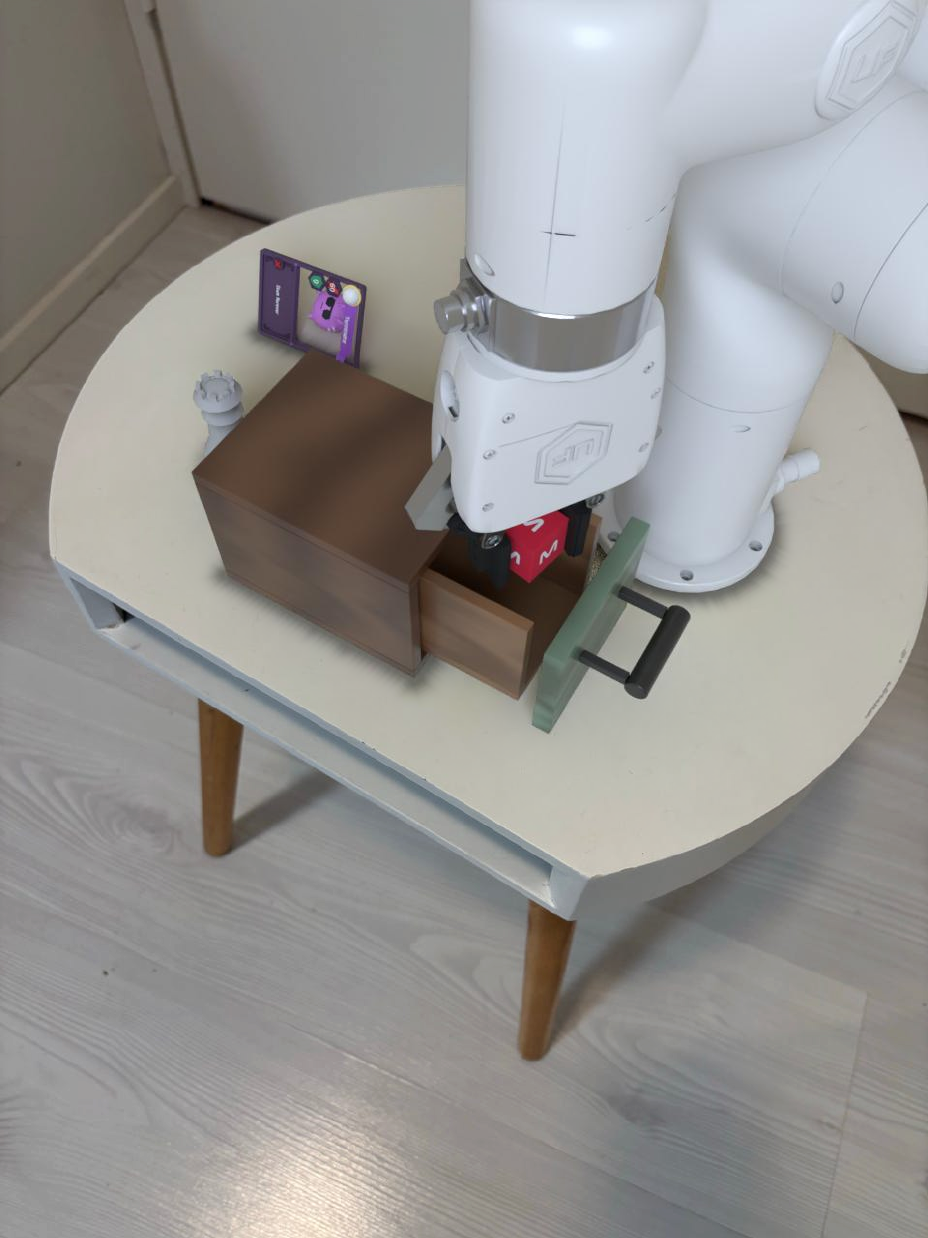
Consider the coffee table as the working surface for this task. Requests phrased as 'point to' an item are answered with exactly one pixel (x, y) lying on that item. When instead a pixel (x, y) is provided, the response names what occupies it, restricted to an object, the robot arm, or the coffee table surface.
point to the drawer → (543, 621)
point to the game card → (328, 307)
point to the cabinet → (329, 504)
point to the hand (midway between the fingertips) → (527, 550)
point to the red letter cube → (537, 543)
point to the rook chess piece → (218, 405)
